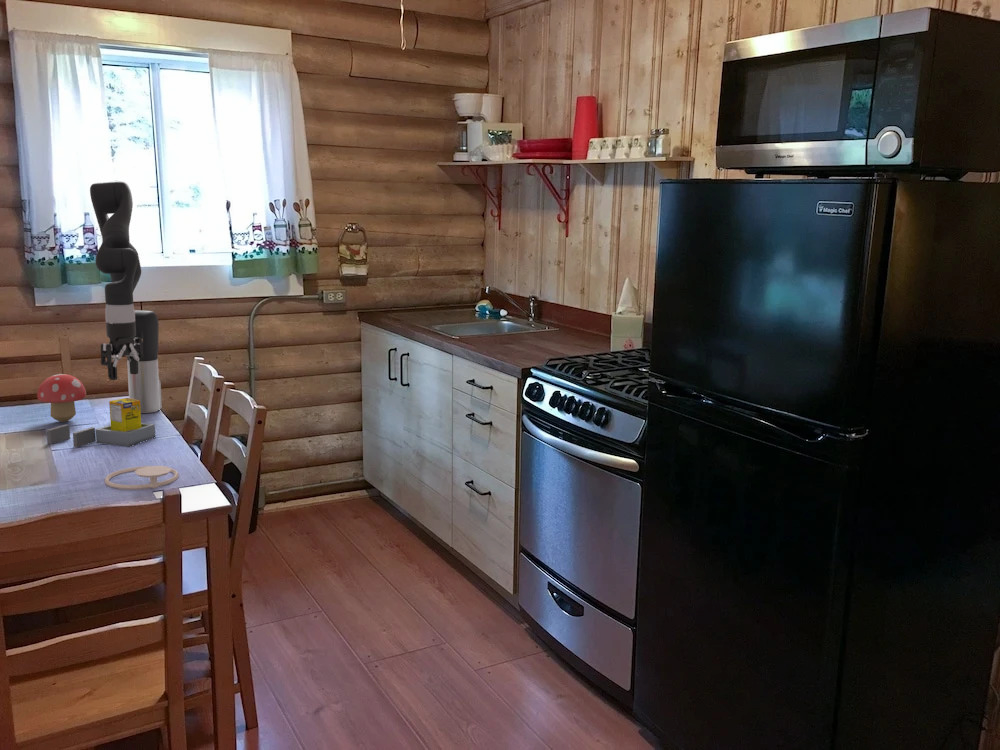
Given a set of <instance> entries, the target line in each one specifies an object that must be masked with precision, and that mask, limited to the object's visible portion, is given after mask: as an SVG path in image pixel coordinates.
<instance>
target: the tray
mask: <svg viewBox="0 0 1000 750" xmlns="http://www.w3.org/2000/svg"><path fill="white" fill-rule="evenodd" d="M141 427H142V428H139V429H136V430H133V431H130V432H123V431H114V430H111V424H109V425H105V426H102V427H99V428H95V437H96V441H95V443H96V444H99V443H100V444H101V445H107V444H108V446H109V445H110V446H116V445H117V446H118V447H124V446H126V447H125V448H130V446H131V447H133V446H132V445H134V446H136V444H137V445H138V443H139V444H141V443H140V442H142V443H144V442H143V441H145V442H147V441H146V440H148V441H150V440H153V439H155V438H156V425H155V424H154V423H147V422H146V423H145V422H141ZM154 437H155V438H154ZM152 438H153V439H152ZM149 439H150V440H149Z"/></svg>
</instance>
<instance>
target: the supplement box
mask: <svg viewBox="0 0 1000 750" xmlns="http://www.w3.org/2000/svg"><path fill="white" fill-rule="evenodd" d="M108 403H109V419H110V420H109V422H110V425H111V430H114V431H123V432H130V431H133V430H136V429H139V428H142V427H141V423H142V413H141V408H140V400H135V399H130V398H129V397H124V398H118V399H113V400H109V402H108Z"/></svg>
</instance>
